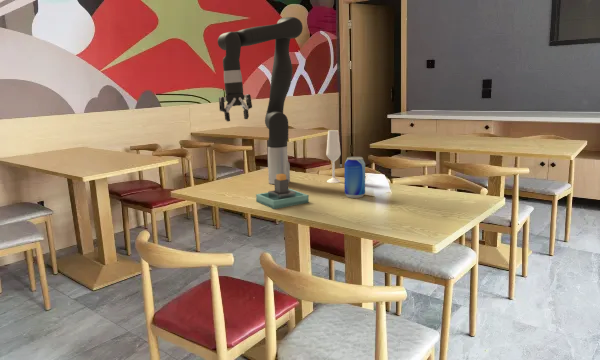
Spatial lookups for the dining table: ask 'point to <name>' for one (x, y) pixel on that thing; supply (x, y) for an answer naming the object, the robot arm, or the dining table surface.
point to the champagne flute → (333, 151)
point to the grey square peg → (281, 184)
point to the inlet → (281, 195)
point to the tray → (282, 200)
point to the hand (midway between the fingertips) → (237, 120)
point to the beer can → (354, 177)
